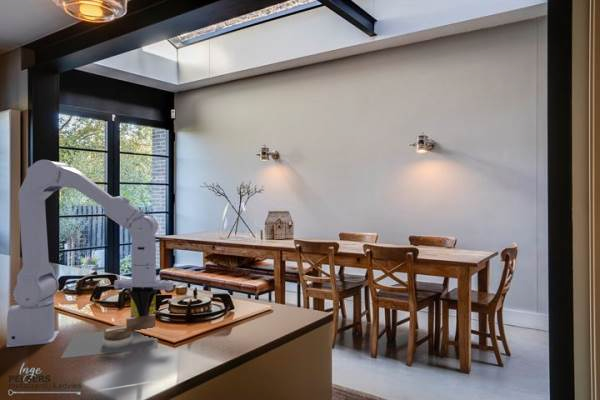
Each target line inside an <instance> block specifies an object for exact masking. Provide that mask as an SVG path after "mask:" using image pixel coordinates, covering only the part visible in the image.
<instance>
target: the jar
mask: <svg viewBox="0 0 600 400" xmlns="http://www.w3.org/2000/svg"><path fill="white" fill-rule="evenodd" d="M131 343H132V335H131V336H130V337H128V338H126V339H122V340H116V341H110V340H106V339H104V338H103V346H104V347H106V348H120V347H124V346H127V345H130V344H131Z"/></svg>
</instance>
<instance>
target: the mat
mask: <svg viewBox="0 0 600 400" xmlns="http://www.w3.org/2000/svg"><path fill="white" fill-rule="evenodd" d="M103 338H104V330H103V331H94V332H93V331H92V332H83V333H81V332H80V333H75V334H73V336H72V337H71V340H70V341H69V343H68V345H67V346H66V348H65V350H64V351H63V353H62V355H61V356H60V359H69V358H70V359H71V358H76V357H77V358H78V357H85V356H87V357H88V356H96V355H106V354H115V353H117V354H118V353H124V352H134V351H145V350H153V349H154V350H155V349H158V347H159V346H158V344H159V338H158V339H157V338H153V337H151V338H149V337H148V336H144V335H142V334H140V333H137V332H135V331H132V343H131V344H130V345H127V346H124V347H120V348H106V347H104V346H103Z"/></svg>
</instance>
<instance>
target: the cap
mask: <svg viewBox="0 0 600 400" xmlns="http://www.w3.org/2000/svg"><path fill="white" fill-rule="evenodd" d="M125 320H126V324H125V325H124V324H123V325H121V324H120V325H114V326H113V325H112V326H110V327H107V328H105V329H104V330H103V331H104V339H106V340H110V341H116V340H122V339H126V338H128V337H130V336H131V335H132V331H135V330H141V329H147V328H153V327H156V313H155V314H152V315H145V316H139V317H132V318H131V317H128V318H126V319H125Z"/></svg>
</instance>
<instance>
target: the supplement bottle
mask: <svg viewBox="0 0 600 400" xmlns="http://www.w3.org/2000/svg"><path fill="white" fill-rule="evenodd" d="M131 291H132V289H131V288H130V292H131ZM156 295H157V293H156V294H155V296H154V298H153V301H152V303H151V306H150V310H149V314H148V315H152V314H154V312H155V313H156V307H157V306H156V300H157V299H156V297H157V296H156ZM132 317H139V314H138V311H137V307H136V305H135V303H134V301H133V299H132V297H131V296H130V318H132Z"/></svg>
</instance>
